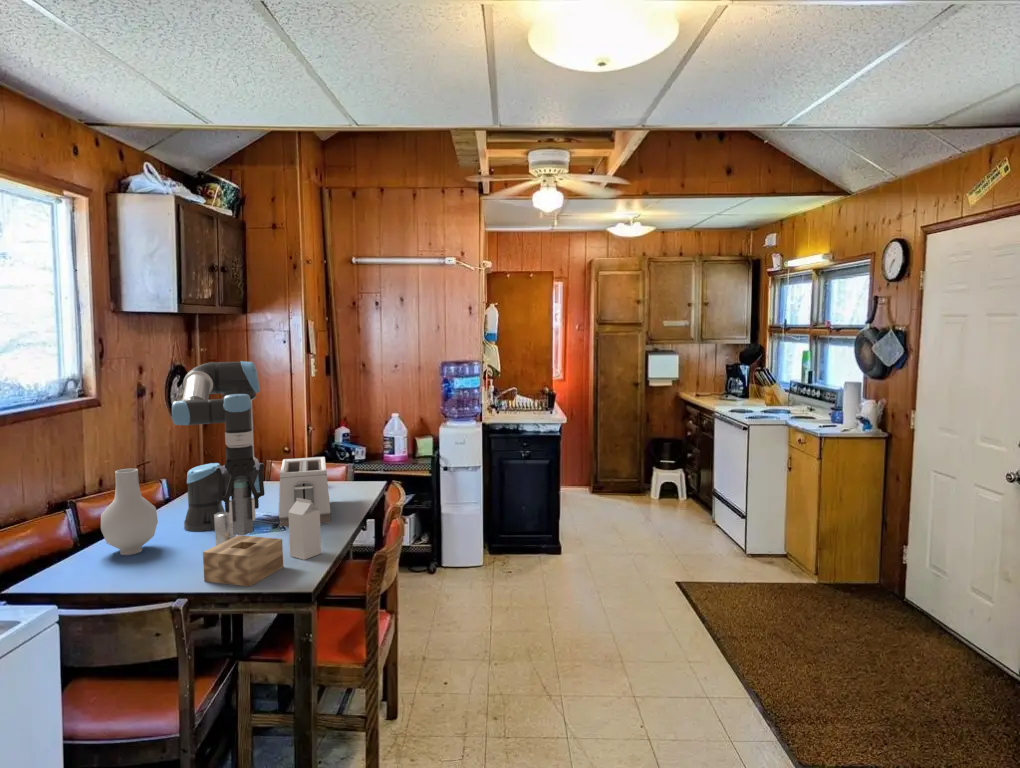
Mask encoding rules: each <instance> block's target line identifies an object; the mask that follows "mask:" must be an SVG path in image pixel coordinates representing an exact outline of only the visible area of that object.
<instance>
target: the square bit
mask: <svg viewBox="0 0 1020 768" xmlns="http://www.w3.org/2000/svg"><path fill="white" fill-rule="evenodd" d="M252 497H253V496H252V494H251V488H250V485H249V482H248V480H240V479H239V480H236V481H234V484H233V488H232V491H231V496H230V500H232V517H233V534H234V535H236V536H238V535H242V536H247V535H248V534H250V533H252V532H254V524H253V523H254V522H253V521H254V520H252Z"/></svg>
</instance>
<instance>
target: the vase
mask: <svg viewBox="0 0 1020 768" xmlns="http://www.w3.org/2000/svg"><path fill="white" fill-rule="evenodd" d="M114 474H115V475H114V476H115V489H114V490H115V492H114V499H113V501H112V502H111V503H110V504H109V505H108V506H107V507H106V508H105V509H104V510H103V512H102V513H101V514H100V531H101V533H102V535H103V538H104V540H105V543H106V544H108V546H112V547H114V548H115V549H118V550H119V553H120V555H122V556H130V555H135V554H139V553H141V552H142V551H143V546H144V545H145V544H146V543H147V542H149V541H150V540H151V539H152V538H153V537H154V536H155V533H156V530H157V525H158V523H159V522H158V513H157V512H158V511H157V508H156V506H155V505H153V504H152V503H151V502H150V501H148V500H147V499H146V498H145V497H143V496H142V493H141V488H140V483H139V481H140V480H139V469H138V468H123V469H118V470H115V472H114Z"/></svg>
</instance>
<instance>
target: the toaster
mask: <svg viewBox="0 0 1020 768" xmlns="http://www.w3.org/2000/svg"><path fill="white" fill-rule="evenodd" d="M281 463H282V464H281V468H280V469H281V470H279V471H280V472H279V492H278V493H279V494H278V520H279V523H280V524H278V527H279V526H286V527H288V528H289V516H288V512H289V510H290V509H291V508H292V506H293V505H294V504H295V502H296V498H301V499H306V500H311V502H312V503H313V505H314V506H315V507H316V508H318V509H319V510H320V524H330V523H332V520H331V516H330V515H331V503H330V494H329V493H330V492H329V485H328V483H329V482H328V472H327V471H328V470H327V463H326V457H325V456H314V457H302V458H301V457H300V458H284V459H282V462H281ZM286 527H285V528H286Z"/></svg>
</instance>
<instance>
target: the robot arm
mask: <svg viewBox="0 0 1020 768" xmlns="http://www.w3.org/2000/svg"><path fill="white" fill-rule="evenodd" d="M182 387H183V396H182V399H180V400H176V401H173V402H172V405H171V418H172V423H173V424H174V425H175V426H185V427H186V426H193V425H196V426H197V425H209V424H211V425H212V424H224V438H225V439H224V441H225V445H226V447H225V460H226V461H225V463H224V465H221V464H220V463H219V462H214V463H213V462H210V463H205V464H202V465H201V464H200V465H197V466H195V467H192V468H191V469H189V470H188V471H187V474H186V485H187V502H188V503H187V504H188V505H187V506H188V507H187V508H188V509H187V511H186V515H185V520H183V525H184V530H186V531H189V532H203V531H204V532H205V531H212V530H215V522H214V514H216V513H219V512H224V511H226V512H229V514H230V523H233V517H232V499H231V491H232V488H233V484H234V481H236V480H239V479H240V480H248V482H249V485H250V488H251V495H253V496H252V520H253V521H256V510H257V509H259V507H260V504H259V503H260V502H259V498H261V497H263V496H265V493H266V492H265V484H264V473H263V472H264V468H265V464H264V463H263V462H259V459H258V458H257V457H255V448H254V447H255V445H254V444H255V443H254V419H253V418H254V417H253V400H254V399H255V398H257V393H260V392H261V388H260V382H259V377H258V370H257V366H256V364H255V362H253V361H243V360H240V361H217V362H215V361H210V362H206V363H203V364H200V365H198V366H195V367H194V368H192V369H191V370H189V371H188V372H187V373H186V374H185V376H184V378H183V381H182ZM210 395H222V398H216V399H215V398H214V399H211V398H210V399H209V397H210ZM223 502H224V506H223Z"/></svg>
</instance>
